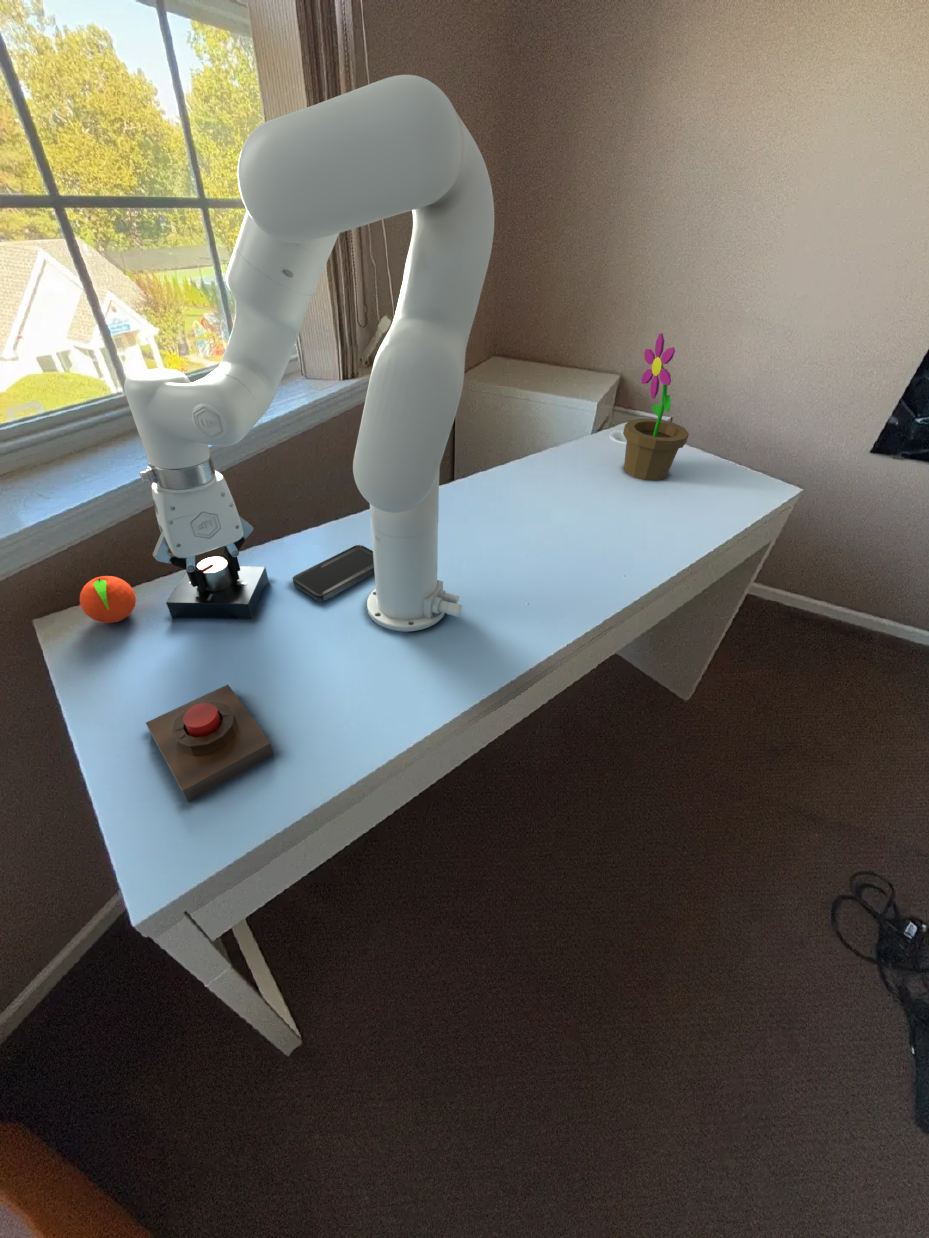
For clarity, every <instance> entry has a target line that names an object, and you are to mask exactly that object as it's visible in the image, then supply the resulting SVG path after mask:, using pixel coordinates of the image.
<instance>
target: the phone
mask: <svg viewBox="0 0 929 1238" xmlns="http://www.w3.org/2000/svg"><path fill="white" fill-rule="evenodd" d="M372 575H375V572H374V559H373V549H370V548H368V547H366V546H364V545H362V544H356V545H353V546H352V547H349V548H347V549H346V550H344V551H341V552H339V553H337V554H335V555H333V556H331V557H329V558H327V559H324V560H323V561H321V562H319V563H317V564H315V565H313V566H311V567H309V568H307V569H305V570H303V571H301V572H299V573H297V574H295V575H293V577H292V583H293V586H294V587H295V588H296V589H298V590H300V591H301V592H303V593H304V594H305V595H307V596H308V597H311V598H312V599H313V600H315V601H317V602H325V601H327V600H329V599H331V598H332V597H334V596H336V595H338V594H340V593H342V592H344V591H345V590H347V589H349V588H350V587H353V586H354V585H356V584H358V583H361V582H362V581H364V580H365V579H367V578H369V577H370V576H372Z"/></svg>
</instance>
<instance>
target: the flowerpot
mask: <svg viewBox="0 0 929 1238" xmlns="http://www.w3.org/2000/svg"><path fill="white" fill-rule="evenodd" d="M654 345H655V346H654V351H653V350H652V349H651V348H650V349H649V348H645V349H644V352H643V356H644V357H643V358H644V361H645V362H646V363H647V364H648V365H651V368H647V369H646V370H645V372H643V373H642V377H641V380H640V382H641V385H645V384H649V383H650V388H649V389H650V390H649V392H650V397H651V399H656V397H657V395H658V393H659V389H660V382H661V383H662V391H661V392H662V393H661V403H660V405H659V404H655V405H652V406H651V408H650V409H651V411H653V412H654V414H655V415H656V416H657V418H645V417H640V418H636V419H630V420H628V421H627V422H626V423H625V424H624V428H623V431H622V435H623V437H624V439H625V440H626V443H625V454H624V462H623V469H624V472H625V473H626V474H627V475H629V476H630V477H633V478H636V479H639V480H643V481H660V480H663V479H665V478H666V477H667V476H668V474H669V472H670V469H671V467H672V465H673V462H674V460H675V458H676V456H677V454H678V452H679V449H682V448H683V447H684V446H685V445H686V444H687V441H688V438H689V435H690V432H688V431H687V429H686V428H685V427H684V426H682V425H680V424H677V423H675V422H672V421H668V420H664V419H663V415H664V411H665V412H666V413H669V412H670V408H671V403H672V399H671V396H670V394H668V387H669V386H670V385H671V382H672V379H671V378H672V377H671V373H670V372H669V371H668V369H667V368H665V367H664V365H667V364H669V363H670V362H671V361H672V360H673V357H674V355H675V352H676V351H675V347H674V346H673V347H667V348H666V349H665V351H664V347H665V337H664V333H663V332H661V333H659V334H658V336H657V338H656V340H655V344H654Z"/></svg>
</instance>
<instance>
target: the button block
mask: <svg viewBox="0 0 929 1238" xmlns="http://www.w3.org/2000/svg"><path fill="white" fill-rule="evenodd" d="M202 703H209V704H212V705H214V706H215V707H216V708H217V711H218V713H219V716H220V719H221V723H220V726H219V728H218V729H217V730H216V731H215V732H213V733H211V734H209V735H207V736H204V737H194V736H192V735H190V734H189V733H188V731H187V728H186V726H185V724H184V721H183V717H184V715H185V713H186V712H187V711H188V710H189V709H190V708H191V707H193V706H195V705H198V704H202ZM145 725H146V727H147V729H148V731H149V733H150V735H151V736H152V739H153V741H154V742H155V744H156V746H157V749H159V751H160V753H161V755H162V757H163V759H164V760H165V762H166V765H167V767H168V768H169V770H170V772H171V774H172V775H173V778H174V779H175V781H176V783H177V785H178V787H179V789H180V790H181V792H182V795H183V797H184V798H185V800H186V802H187V803H190V802H192V801H193V800H195V799H197V798H199V797H200V796H202V795H204V794H206V793H208V792H210V791H211V790H213V789H215V788H216V787H218V786H221V785H223V784H224V783H225V782H228V781H229V780H231V779H232V778H234V777H236V776H238V775H240V774H242V773H243V772H245V771H247V770H249V769H251V768H252V767H254V766H256V765H258V764H260V763H261V762H263V761H265V760H266V759H268V758H271V757H272V756H274V755H275V752H274V748H273V745H272V743H271V741H270V739H269V738H268V737H267V736H266V734H265V732H264V731H263V730H262V728H261V727H260V726H259V724H258V722H256V720H255V719H254V718H253V716H252V715H251V713H250V712H249V711H248V709H247V708H246V707H245V705H244V704H243V703H242V700H240V698H239V697H238V695H237V694H236V693H235V691H234V690H233V689H232V687H231V686H230V684H226V685H224V686H221V687H220V688H217V689H214V690H213V691H211V692H208V693H207V694H204V695H201V696H199V697H197V698H195V699H193V700H192V701H189V702H187V703H185V704H183V705H180V706H178V707H176V708H174V709H172V710H170V711H167V712H166V713H163V714H161V715H159V716H157V717H155V718H153V719H151V720H148V721H146V722H145Z"/></svg>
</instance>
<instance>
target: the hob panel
mask: <svg viewBox="0 0 929 1238" xmlns="http://www.w3.org/2000/svg"><path fill="white" fill-rule="evenodd" d="M195 565H196V566H197V565H198V564H195ZM239 566H240V571H238V574H239V578H240V579H238V580H234V579H233V578H232V579H233V583H232V585H231V586H230V587H228V588H227V589H225V590H222V591H217V592H211V591H207V590H206V592H203V593H202V592H201V591H200V590H199V588H198V587H197V586H196V587H193V586H192V585H191V583H190V580H189V577H188V574H187V572H186V571H185V573H184V574H183V576H182V577H181V579H180V580H179V582H178V583H177V585H176V587H175V588H174V590H173V591H172V593H171V594H170V595H169V597H168V599H167V600H166V601H165V604H166V607H167V609H168V612H169V614H170V617H171V618H172V619H202V620H203V619H206V620H207V619H211V620H253V619H254V618H253V617H255V613H256V611H257V609H258V607H259V604H260V603H261V600H262V598H263V596H264V594H265V591H266V589H267V586H268V584H269V582H270V581H269V576H268V572H267V567H266V566H255V565H254V566H251V565H247V566H246V565H239Z"/></svg>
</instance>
